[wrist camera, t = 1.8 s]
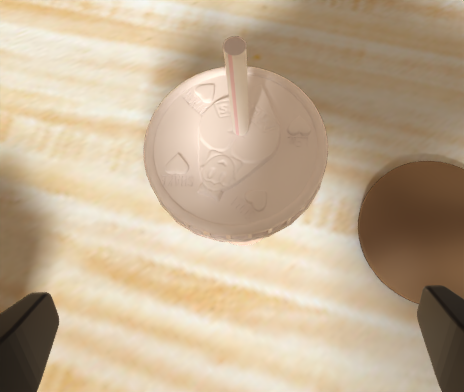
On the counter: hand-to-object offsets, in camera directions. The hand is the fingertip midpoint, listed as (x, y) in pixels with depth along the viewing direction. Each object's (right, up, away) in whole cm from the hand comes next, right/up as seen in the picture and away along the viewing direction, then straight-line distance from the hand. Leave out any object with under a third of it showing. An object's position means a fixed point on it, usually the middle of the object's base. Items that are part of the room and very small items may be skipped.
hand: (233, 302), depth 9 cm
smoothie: (+1, +1, +13) cm, 13 cm away
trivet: (+11, +1, +12) cm, 16 cm away
